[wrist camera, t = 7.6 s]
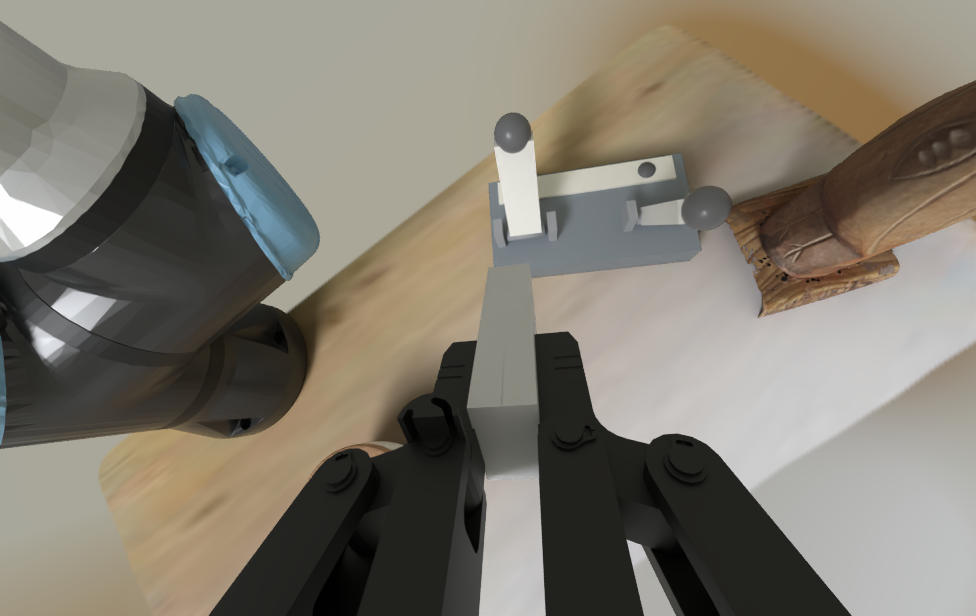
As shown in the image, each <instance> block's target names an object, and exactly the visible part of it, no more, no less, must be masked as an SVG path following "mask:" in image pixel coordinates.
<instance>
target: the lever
mask: <svg viewBox="0 0 976 616" xmlns="http://www.w3.org/2000/svg"><path fill="white" fill-rule="evenodd" d="M731 208H732V202H731V198H730V196H729V195H728V193H727V192H726V191H725V190H723V189H721V188H719V187H716V186H704V187H700V188H698V189H696V190H694V191H692V192H691V193H690V194H689V195H688V196H687V197H686V198H685V199H680V200H675V201H670V202H665V203H660V204H655V205H650V206H645V207H641V208H640V209H637V212H638V218H639V219H638V221H637V223H636V225H639V224H641V225H676V224H686V225H687V226H689V227H690V228H692V229H694V230H699V231H706V230H711V229H714V228H716V227H718V226H720V225H721V224H722V223H723V222H724V221H725V220H726V219H727V218H728V216H729V214H730V212H731Z"/></svg>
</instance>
